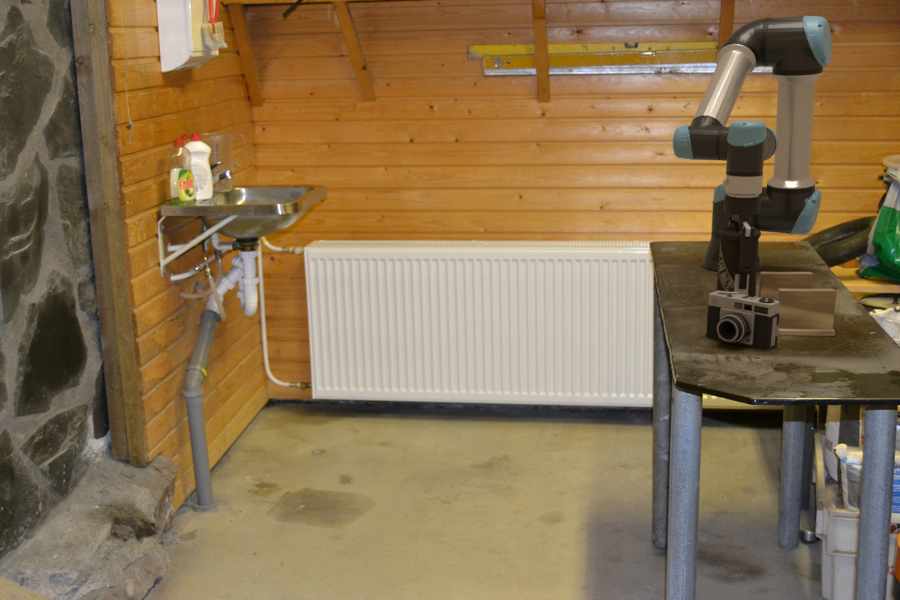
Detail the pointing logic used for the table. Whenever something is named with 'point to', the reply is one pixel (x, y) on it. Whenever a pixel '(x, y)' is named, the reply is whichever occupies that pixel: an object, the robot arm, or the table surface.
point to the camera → (743, 319)
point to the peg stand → (799, 303)
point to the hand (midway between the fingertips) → (735, 297)
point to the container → (734, 260)
